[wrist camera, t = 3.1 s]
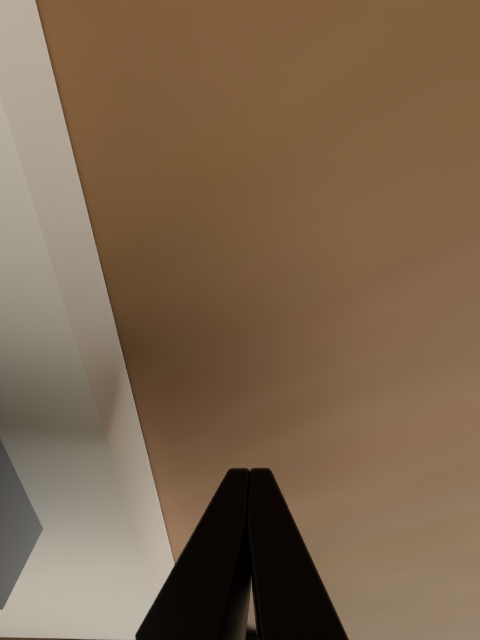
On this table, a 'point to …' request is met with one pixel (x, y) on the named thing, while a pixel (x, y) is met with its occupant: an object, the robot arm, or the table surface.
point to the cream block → (65, 378)
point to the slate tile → (14, 527)
